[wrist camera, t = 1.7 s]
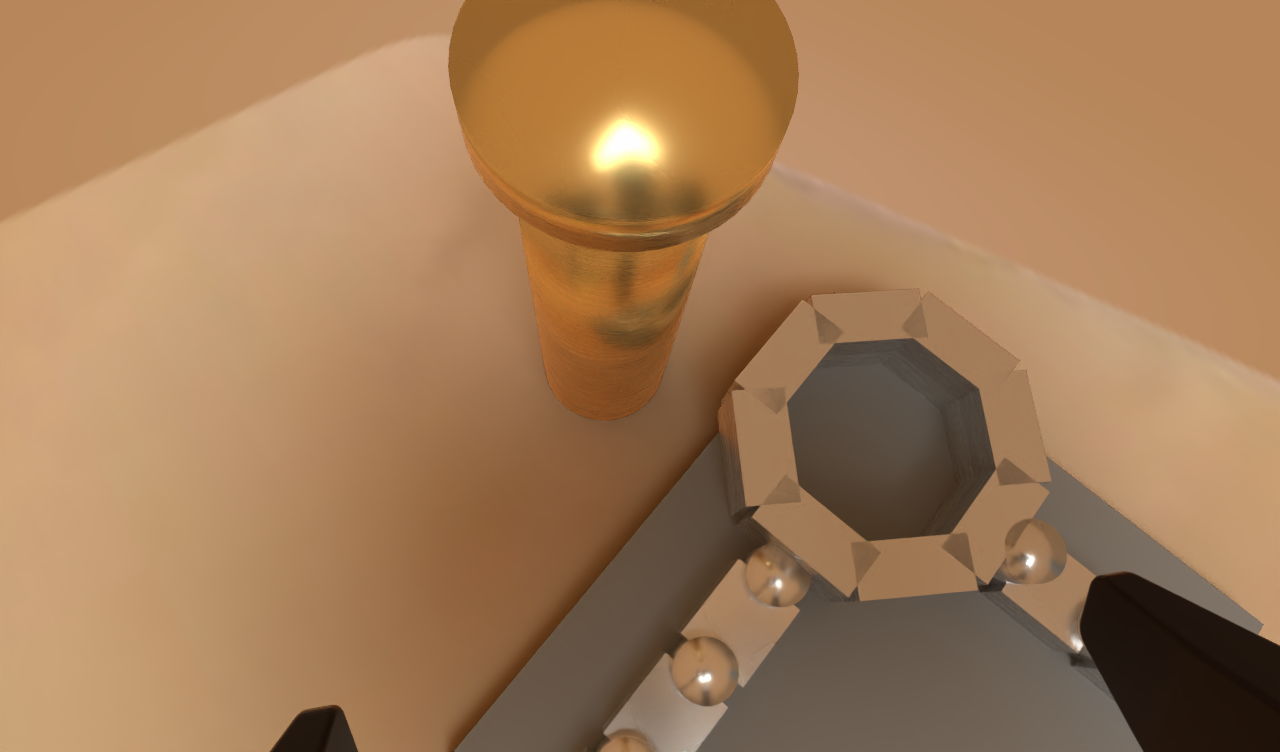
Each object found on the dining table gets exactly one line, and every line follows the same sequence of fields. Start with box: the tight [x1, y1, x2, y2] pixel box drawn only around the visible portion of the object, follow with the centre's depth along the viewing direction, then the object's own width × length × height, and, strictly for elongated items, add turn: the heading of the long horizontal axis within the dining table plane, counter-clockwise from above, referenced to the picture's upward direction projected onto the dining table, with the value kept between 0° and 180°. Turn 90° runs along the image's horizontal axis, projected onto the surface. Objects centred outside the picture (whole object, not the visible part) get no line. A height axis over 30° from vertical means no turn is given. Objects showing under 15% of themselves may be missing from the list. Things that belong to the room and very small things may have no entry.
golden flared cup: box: [448, 0, 799, 420], centre depth 18 cm, size 5×5×14 cm
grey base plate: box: [454, 293, 1264, 752], centre depth 22 cm, size 17×15×1 cm
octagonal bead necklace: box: [582, 289, 1115, 752], centre depth 20 cm, size 17×15×2 cm
